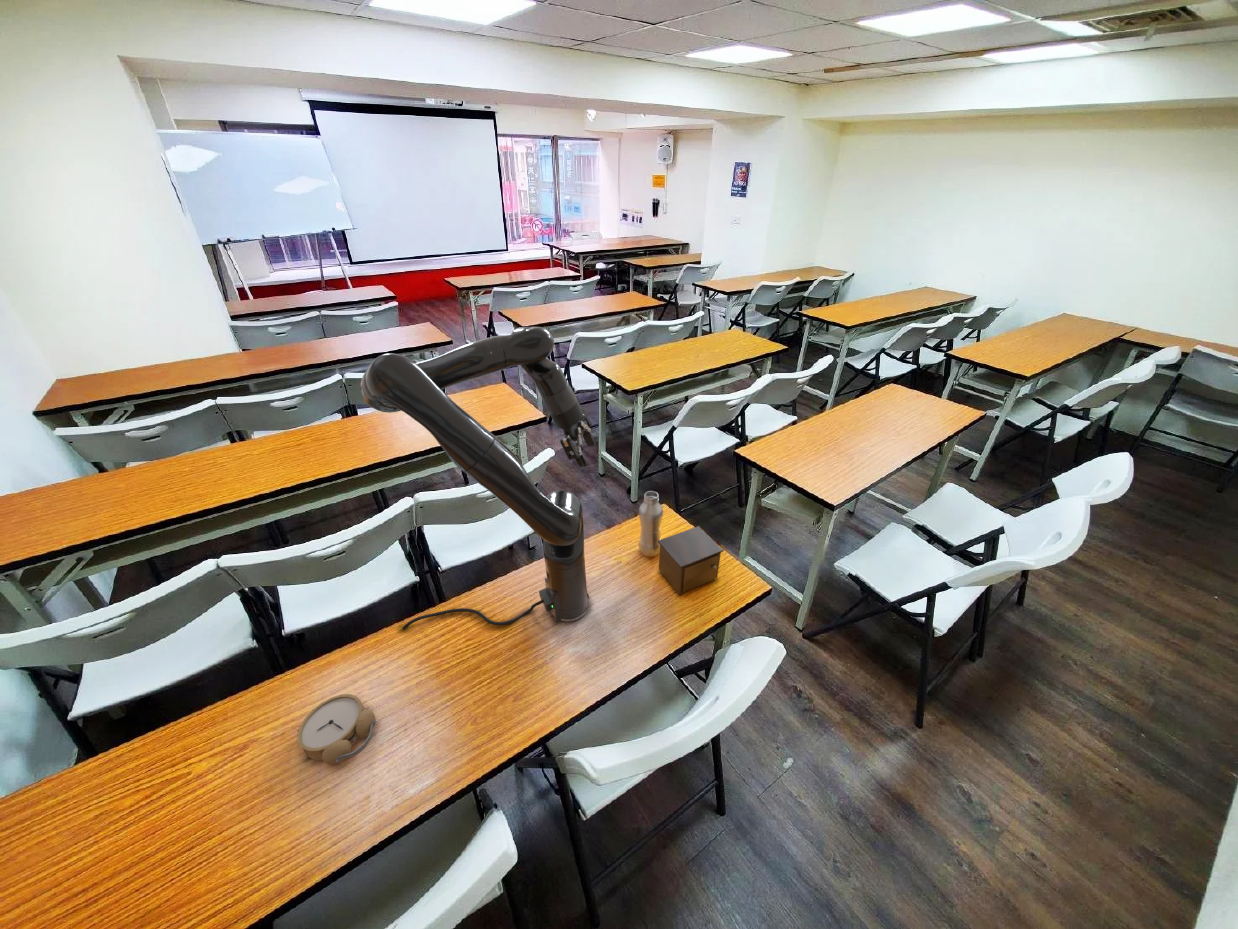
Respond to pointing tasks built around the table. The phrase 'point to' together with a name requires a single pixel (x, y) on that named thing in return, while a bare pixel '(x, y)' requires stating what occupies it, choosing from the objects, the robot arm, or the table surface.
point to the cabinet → (689, 559)
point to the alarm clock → (336, 729)
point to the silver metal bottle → (650, 524)
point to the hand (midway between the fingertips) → (587, 455)
